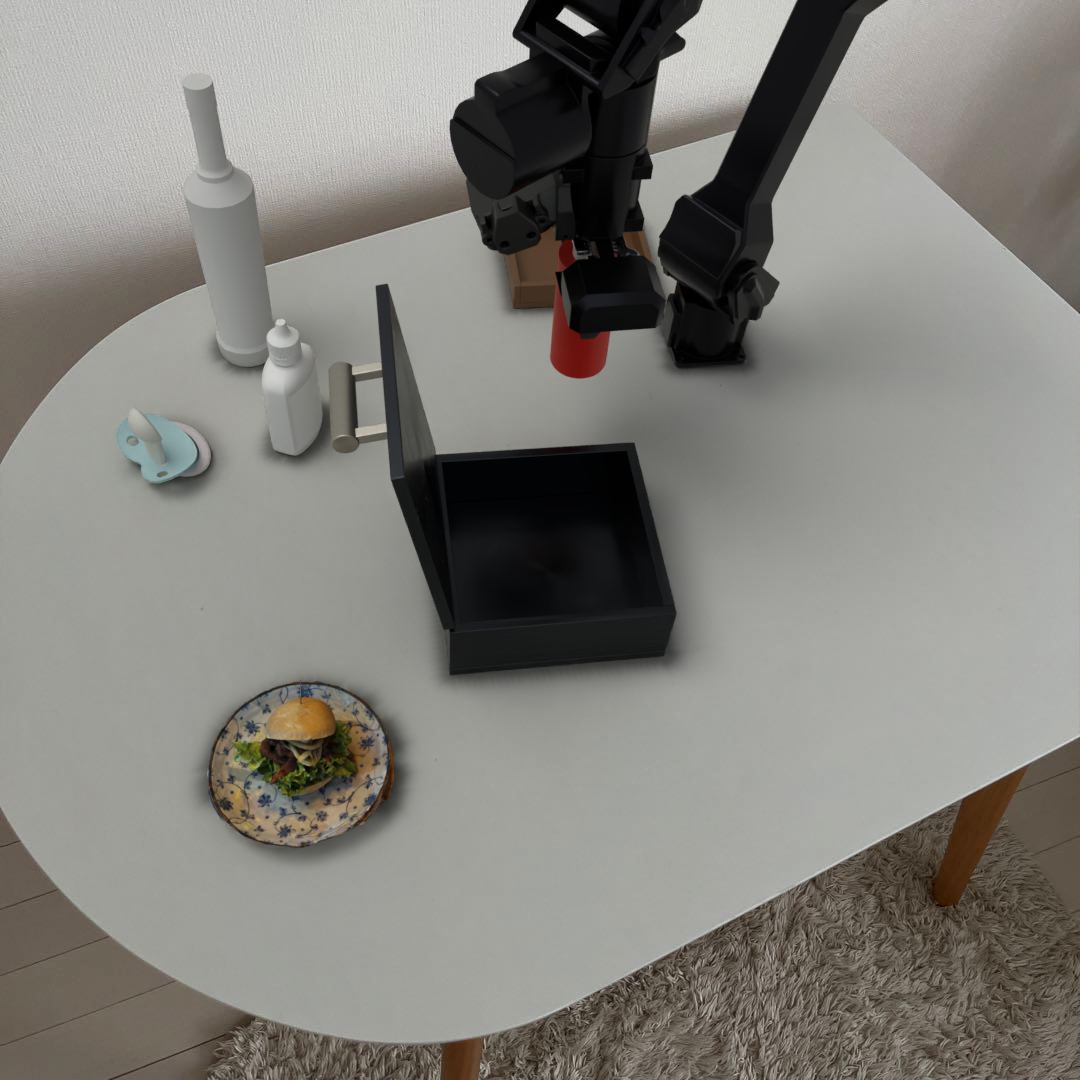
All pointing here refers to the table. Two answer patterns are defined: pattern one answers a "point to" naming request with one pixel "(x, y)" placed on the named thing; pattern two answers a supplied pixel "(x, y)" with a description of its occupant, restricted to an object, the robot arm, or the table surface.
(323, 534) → the table surface
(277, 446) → the eye dropper bottle
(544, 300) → the tray
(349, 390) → the door
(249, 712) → the burger
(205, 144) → the bottle
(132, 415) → the pacifier
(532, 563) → the black open box
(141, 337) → the table surface
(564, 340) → the ketchup
